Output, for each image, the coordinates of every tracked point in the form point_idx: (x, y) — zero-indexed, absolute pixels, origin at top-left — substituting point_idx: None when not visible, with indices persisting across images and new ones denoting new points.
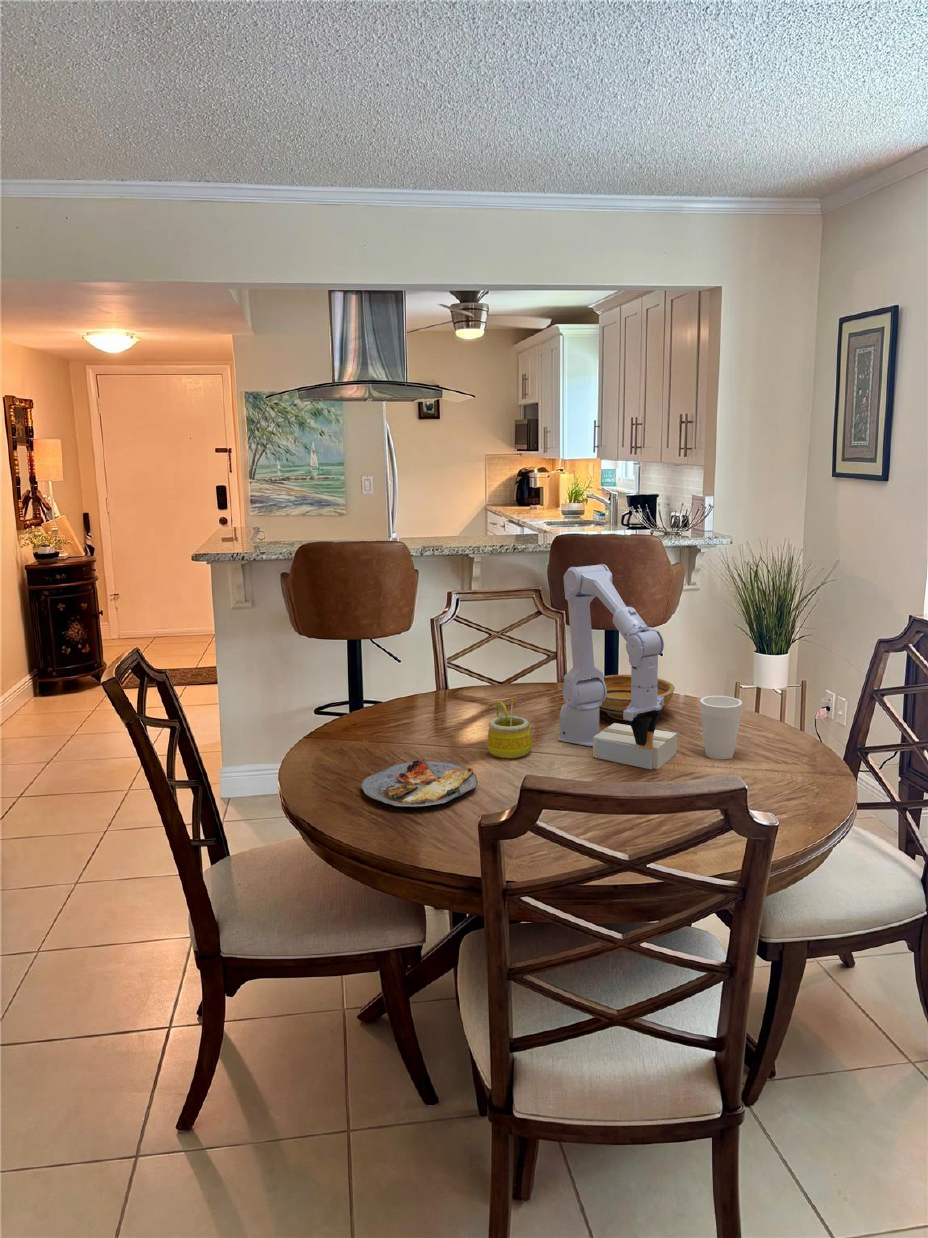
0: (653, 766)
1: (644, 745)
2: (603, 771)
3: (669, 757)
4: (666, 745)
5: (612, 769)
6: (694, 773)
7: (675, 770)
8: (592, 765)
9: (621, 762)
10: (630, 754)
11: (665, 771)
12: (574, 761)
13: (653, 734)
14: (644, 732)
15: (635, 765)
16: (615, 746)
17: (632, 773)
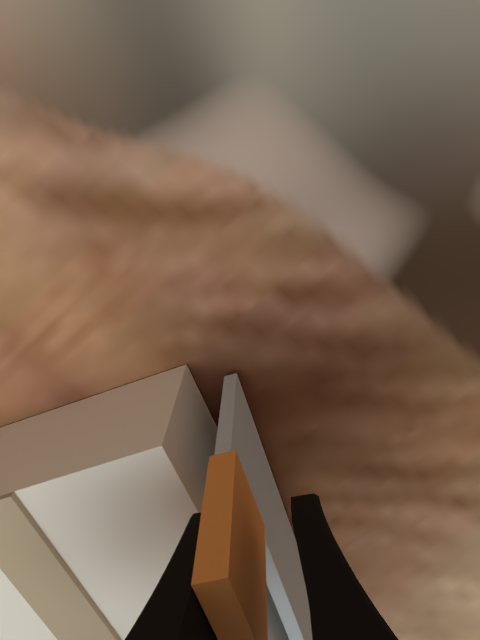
0: (194, 392)
1: (308, 496)
2: (421, 504)
3: (20, 425)
4: (21, 472)
5: (367, 496)
6: (44, 184)
7: (111, 293)
8: (393, 573)
9: (287, 517)
10: (276, 523)
11: (171, 318)
12: (410, 636)
13: (169, 564)
14: (373, 609)
15: (265, 454)
16: (304, 623)
17: (337, 407)
